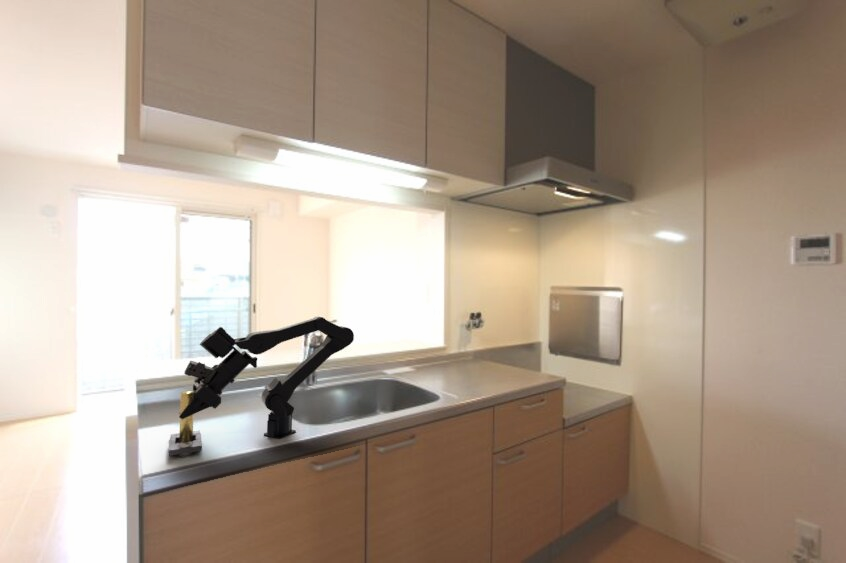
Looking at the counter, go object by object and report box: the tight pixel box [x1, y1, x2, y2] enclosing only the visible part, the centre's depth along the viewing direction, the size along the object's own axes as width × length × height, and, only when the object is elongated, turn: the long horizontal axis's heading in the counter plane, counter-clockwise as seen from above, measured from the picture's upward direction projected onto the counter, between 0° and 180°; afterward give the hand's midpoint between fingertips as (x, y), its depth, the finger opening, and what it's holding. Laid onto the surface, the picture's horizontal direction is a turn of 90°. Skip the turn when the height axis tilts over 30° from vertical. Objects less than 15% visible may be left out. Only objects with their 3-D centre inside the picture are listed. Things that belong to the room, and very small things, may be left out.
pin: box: [179, 390, 194, 443], centre depth 104 cm, size 3×3×13 cm
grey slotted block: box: [168, 430, 203, 458], centre depth 105 cm, size 17×7×3 cm, turn 31°
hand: (180, 416), depth 103 cm, fingers closed on pin, 3 cm apart
